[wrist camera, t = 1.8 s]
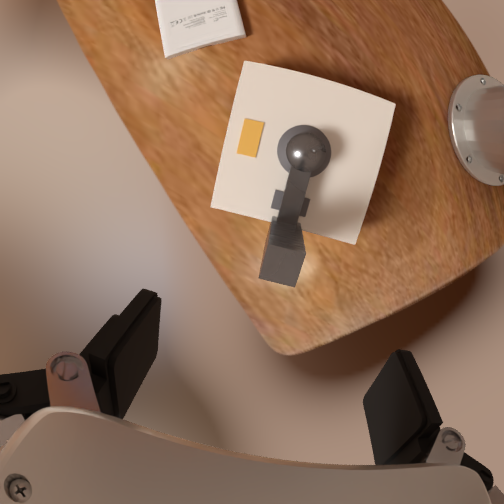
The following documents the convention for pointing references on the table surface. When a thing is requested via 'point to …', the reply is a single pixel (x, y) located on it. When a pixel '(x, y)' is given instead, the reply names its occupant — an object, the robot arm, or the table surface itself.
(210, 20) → the external hard drive
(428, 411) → the robot arm
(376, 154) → the box
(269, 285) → the table surface
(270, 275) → the key crank
